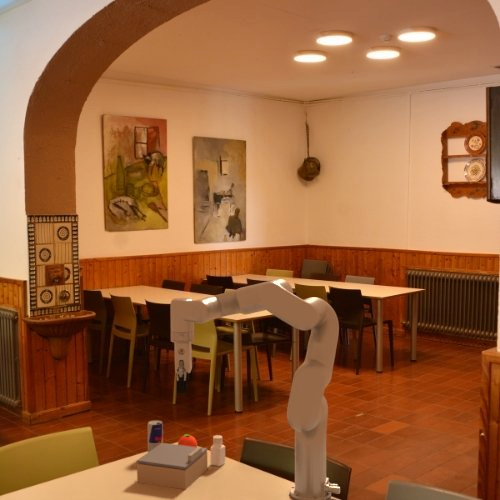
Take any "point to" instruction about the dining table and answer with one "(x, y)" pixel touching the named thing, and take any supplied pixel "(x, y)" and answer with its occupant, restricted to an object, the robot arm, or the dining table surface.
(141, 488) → the dining table surface
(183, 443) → the clementine
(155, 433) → the energy drink
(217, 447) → the pepper shaker
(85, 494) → the dining table surface
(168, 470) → the mailer box
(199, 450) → the box lid
